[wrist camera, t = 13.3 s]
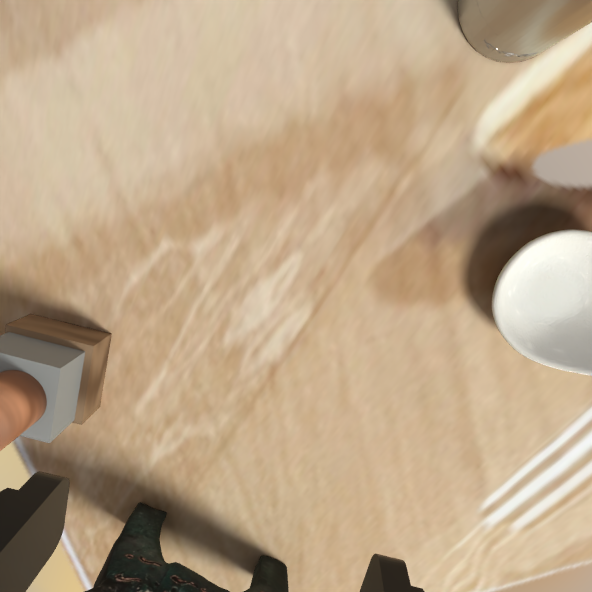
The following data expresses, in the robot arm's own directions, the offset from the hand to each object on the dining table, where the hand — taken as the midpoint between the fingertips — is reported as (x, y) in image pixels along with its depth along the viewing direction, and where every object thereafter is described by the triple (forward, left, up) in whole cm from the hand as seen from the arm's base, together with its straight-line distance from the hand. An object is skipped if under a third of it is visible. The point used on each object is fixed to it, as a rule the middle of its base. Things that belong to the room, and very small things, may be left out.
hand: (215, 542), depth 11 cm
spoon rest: (-4, +29, -32) cm, 43 cm away
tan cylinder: (+12, -20, -24) cm, 33 cm away
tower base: (+12, -20, -32) cm, 39 cm away
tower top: (+12, -20, -28) cm, 36 cm away
